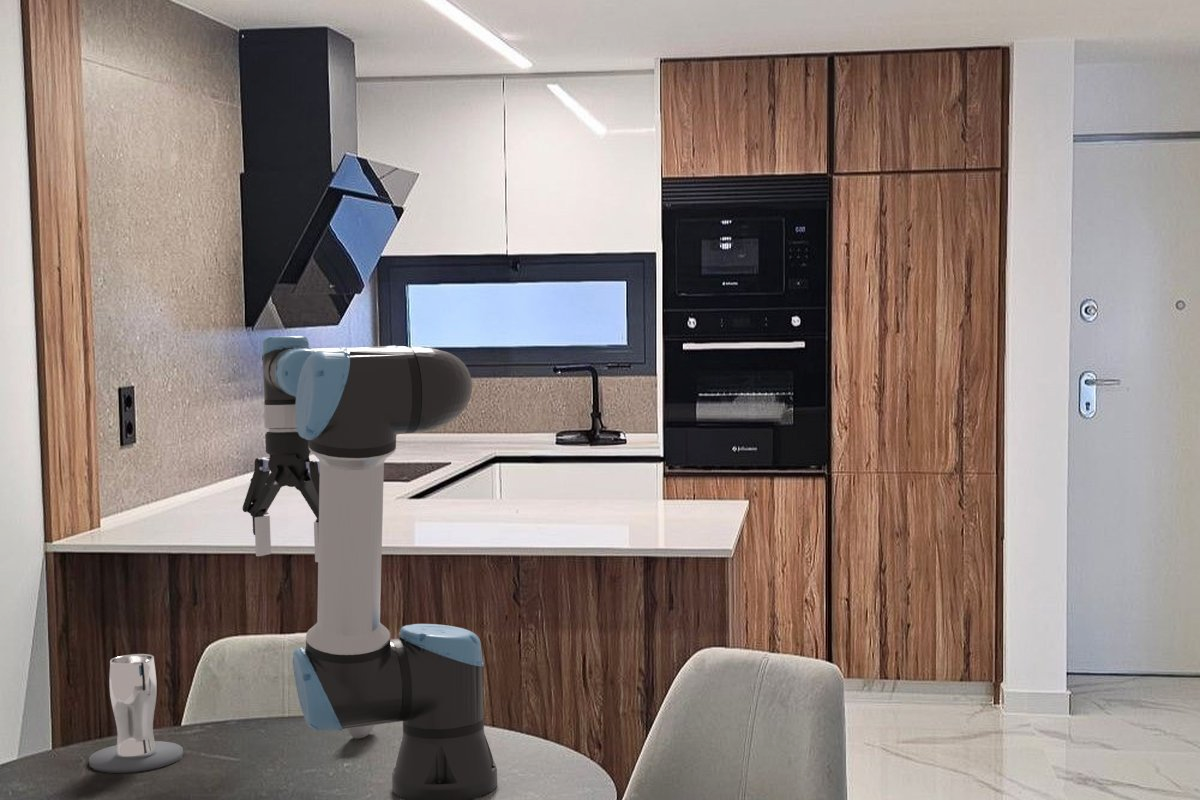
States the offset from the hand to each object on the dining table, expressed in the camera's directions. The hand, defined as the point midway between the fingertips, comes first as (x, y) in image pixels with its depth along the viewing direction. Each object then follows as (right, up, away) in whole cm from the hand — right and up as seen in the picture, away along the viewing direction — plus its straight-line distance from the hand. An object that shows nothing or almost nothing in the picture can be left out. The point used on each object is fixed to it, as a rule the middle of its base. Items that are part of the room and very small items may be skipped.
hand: (292, 558), depth 241 cm
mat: (-22, -30, -13) cm, 39 cm away
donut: (+12, -29, -4) cm, 32 cm away
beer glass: (-22, -29, -13) cm, 39 cm away
